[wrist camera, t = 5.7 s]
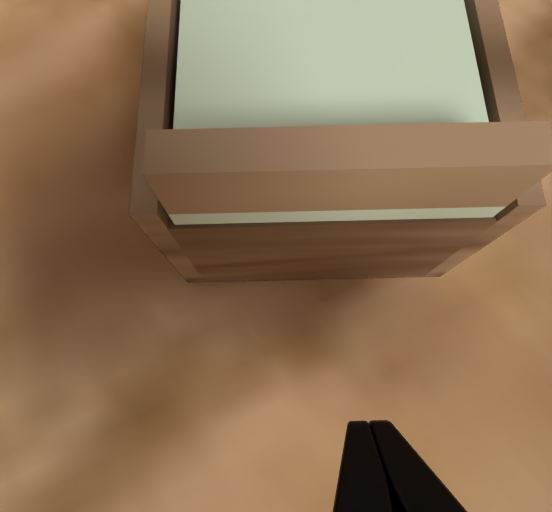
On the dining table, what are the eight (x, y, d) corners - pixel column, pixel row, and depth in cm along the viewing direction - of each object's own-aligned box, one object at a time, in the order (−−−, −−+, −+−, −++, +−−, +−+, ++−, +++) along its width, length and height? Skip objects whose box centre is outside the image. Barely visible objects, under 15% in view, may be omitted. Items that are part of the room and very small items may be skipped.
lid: (492, 217, 13) (560, 164, 10) (174, 224, 13) (142, 174, 10) (450, -2, 15) (493, -98, 12) (186, 3, 15) (164, -91, 12)
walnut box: (439, 276, 20) (546, 204, 12) (187, 282, 20) (128, 214, 12) (414, 99, 23) (486, -51, 15) (195, 104, 23) (151, -44, 15)
